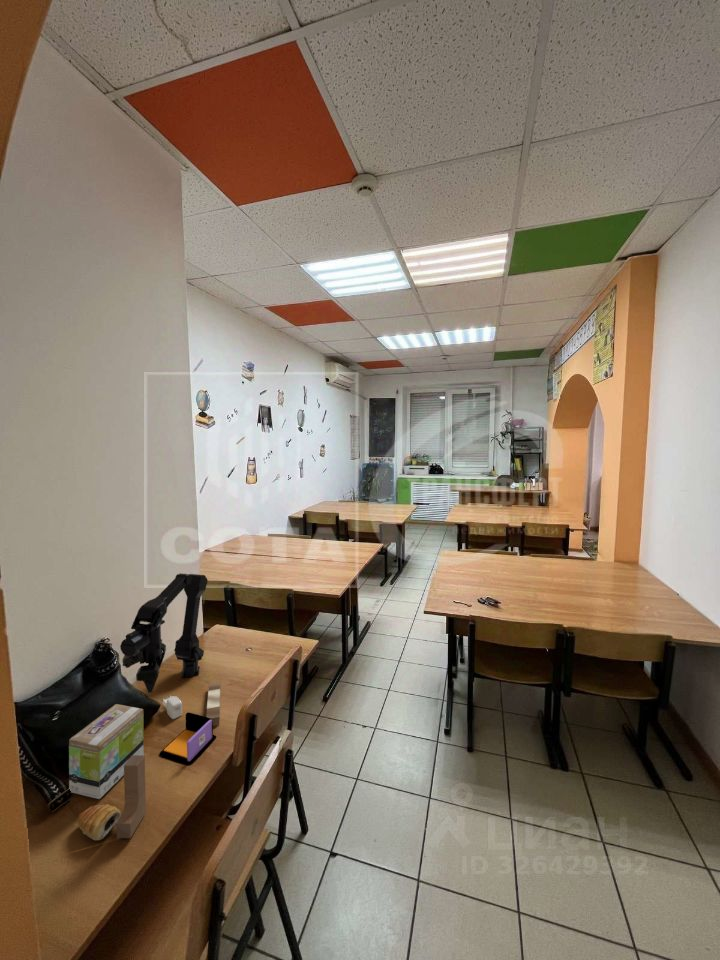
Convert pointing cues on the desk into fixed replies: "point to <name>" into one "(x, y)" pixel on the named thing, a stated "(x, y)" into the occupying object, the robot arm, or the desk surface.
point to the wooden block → (133, 796)
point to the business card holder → (190, 740)
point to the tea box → (104, 750)
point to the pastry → (98, 820)
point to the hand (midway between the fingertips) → (152, 684)
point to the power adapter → (173, 706)
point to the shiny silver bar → (214, 703)
